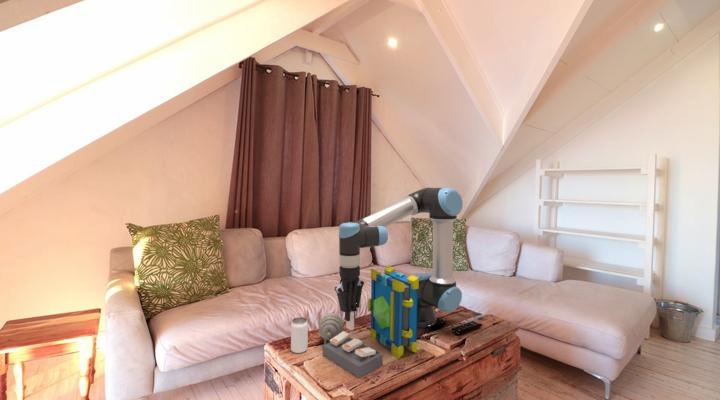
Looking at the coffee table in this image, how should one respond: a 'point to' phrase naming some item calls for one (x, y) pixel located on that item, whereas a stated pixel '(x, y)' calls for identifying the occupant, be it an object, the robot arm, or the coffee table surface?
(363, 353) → the small box
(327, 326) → the grey ribbed rounded piece
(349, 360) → the rocker switch panel
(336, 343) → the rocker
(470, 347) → the coffee table surface
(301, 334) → the can
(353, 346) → the rocker
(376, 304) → the decorative book
